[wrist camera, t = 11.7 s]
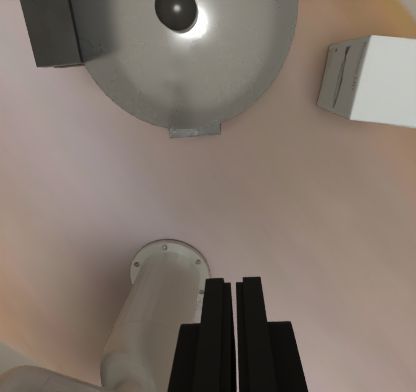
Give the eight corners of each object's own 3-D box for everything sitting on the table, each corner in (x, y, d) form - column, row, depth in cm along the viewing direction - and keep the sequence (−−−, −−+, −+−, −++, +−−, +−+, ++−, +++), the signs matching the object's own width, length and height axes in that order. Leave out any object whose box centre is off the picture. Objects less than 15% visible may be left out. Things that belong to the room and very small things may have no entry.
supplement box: (328, 43, 38) (371, 30, 27) (390, 50, 38) (462, 40, 26) (313, 106, 41) (347, 120, 29) (372, 114, 41) (429, 130, 29)
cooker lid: (294, 119, 30) (304, 126, 26) (64, 137, 32) (41, 146, 28) (296, -146, 23) (309, -190, 20) (6, -102, 26) (-34, -134, 22)
